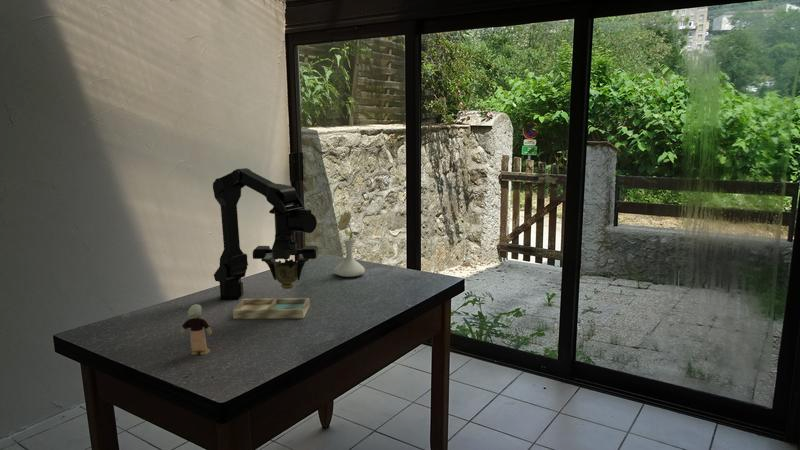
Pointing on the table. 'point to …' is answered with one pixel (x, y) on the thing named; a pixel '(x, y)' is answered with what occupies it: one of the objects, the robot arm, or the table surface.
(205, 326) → the grandmother figurine
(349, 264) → the flower in vase
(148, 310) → the table surface
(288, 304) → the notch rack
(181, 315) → the table surface
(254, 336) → the table surface
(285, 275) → the cup
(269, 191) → the robot arm
